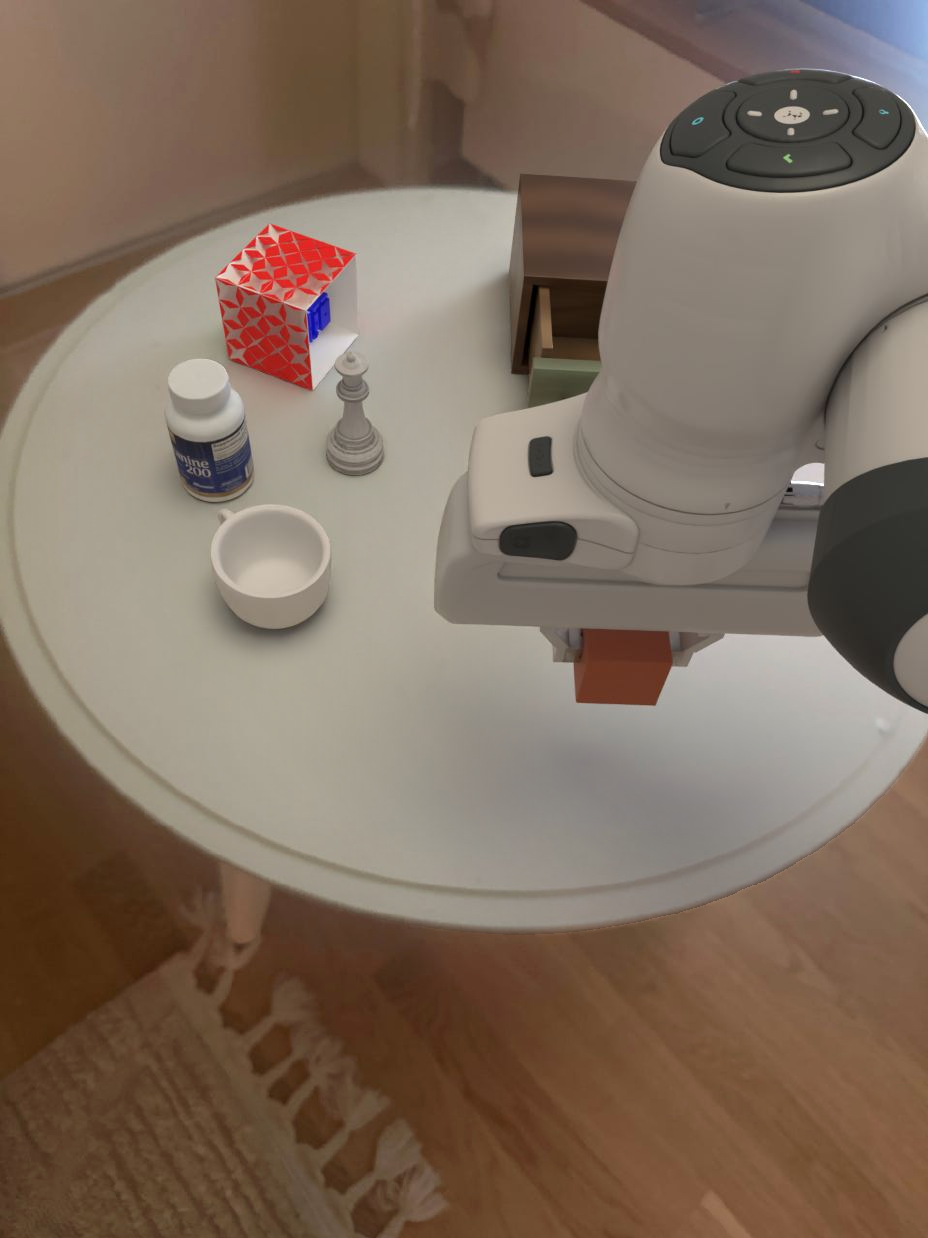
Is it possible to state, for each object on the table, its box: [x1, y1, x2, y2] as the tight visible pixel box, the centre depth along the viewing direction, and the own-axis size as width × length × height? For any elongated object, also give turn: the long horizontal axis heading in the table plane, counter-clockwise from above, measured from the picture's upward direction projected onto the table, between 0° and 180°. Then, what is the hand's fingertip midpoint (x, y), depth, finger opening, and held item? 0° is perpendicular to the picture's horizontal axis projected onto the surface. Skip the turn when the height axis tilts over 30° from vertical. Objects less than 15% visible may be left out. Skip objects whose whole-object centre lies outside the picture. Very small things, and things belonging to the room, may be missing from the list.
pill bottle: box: [164, 358, 255, 503], centre depth 70 cm, size 5×5×10 cm
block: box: [573, 628, 673, 707], centre depth 53 cm, size 4×4×4 cm
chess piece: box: [325, 351, 385, 476], centre depth 72 cm, size 4×4×10 cm
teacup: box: [209, 503, 333, 630], centre depth 66 cm, size 10×8×5 cm
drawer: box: [525, 285, 606, 409], centre depth 75 cm, size 17×10×8 cm, turn 179°
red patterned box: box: [214, 223, 360, 392], centre depth 79 cm, size 8×8×8 cm
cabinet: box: [508, 173, 638, 375], centre depth 82 cm, size 14×12×10 cm
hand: (617, 654), depth 53 cm, fingers closed on block, 4 cm apart
